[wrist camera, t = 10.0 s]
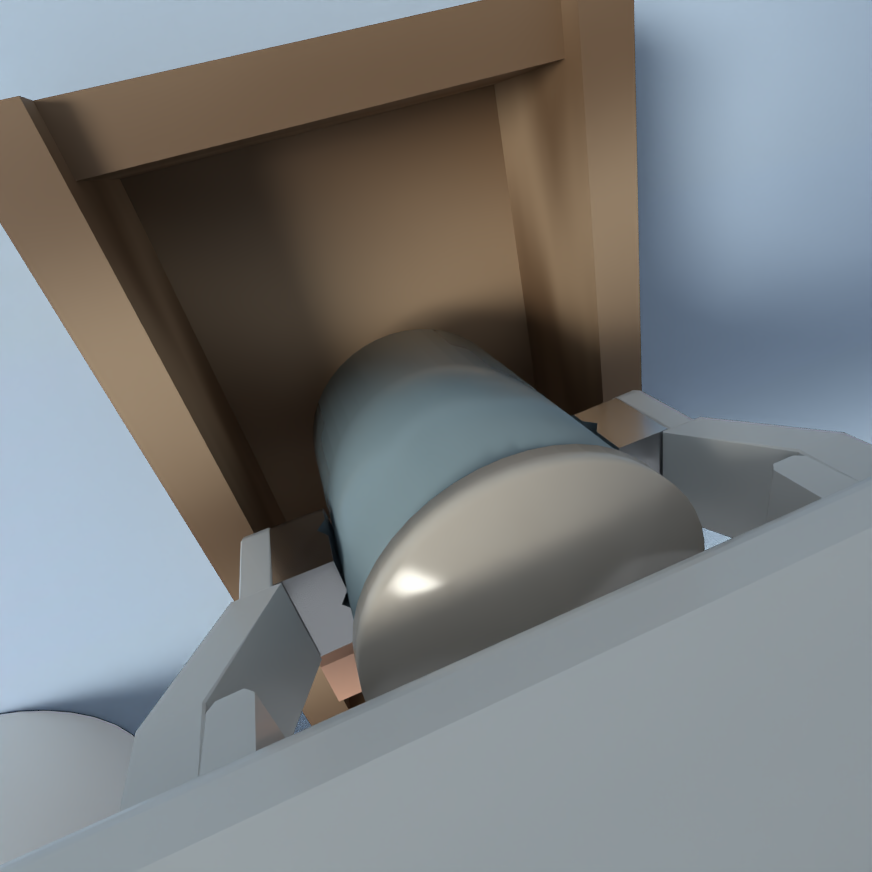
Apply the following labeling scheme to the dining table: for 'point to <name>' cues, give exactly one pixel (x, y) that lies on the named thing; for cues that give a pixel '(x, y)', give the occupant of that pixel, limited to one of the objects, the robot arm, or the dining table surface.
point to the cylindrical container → (57, 776)
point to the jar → (474, 505)
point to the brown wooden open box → (334, 235)
